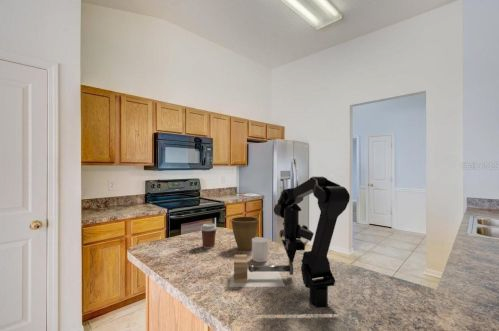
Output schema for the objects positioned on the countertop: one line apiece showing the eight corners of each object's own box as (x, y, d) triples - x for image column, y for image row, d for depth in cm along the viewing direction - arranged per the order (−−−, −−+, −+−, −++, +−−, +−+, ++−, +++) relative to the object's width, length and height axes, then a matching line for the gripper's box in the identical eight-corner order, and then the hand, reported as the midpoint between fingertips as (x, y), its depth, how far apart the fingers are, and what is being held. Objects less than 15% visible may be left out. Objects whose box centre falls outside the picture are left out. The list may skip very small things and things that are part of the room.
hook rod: (294, 277, 90) (294, 254, 90) (248, 277, 89) (248, 254, 89) (291, 271, 94) (291, 250, 95) (248, 272, 94) (248, 250, 94)
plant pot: (259, 244, 135) (259, 216, 135) (256, 253, 120) (256, 222, 120) (234, 243, 137) (234, 215, 137) (228, 252, 122) (228, 221, 123)
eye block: (247, 282, 88) (247, 262, 88) (233, 282, 87) (234, 262, 88) (246, 273, 96) (247, 254, 96) (234, 273, 95) (234, 254, 96)
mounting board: (284, 288, 85) (284, 286, 85) (229, 289, 84) (229, 286, 84) (278, 271, 99) (278, 269, 99) (231, 272, 98) (231, 270, 98)
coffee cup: (198, 245, 133) (198, 223, 133) (213, 243, 137) (213, 222, 137) (203, 250, 125) (203, 227, 125) (219, 247, 129) (219, 225, 129)
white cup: (248, 262, 109) (248, 240, 109) (256, 256, 116) (256, 236, 116) (264, 265, 105) (264, 243, 106) (270, 259, 112) (271, 238, 113)
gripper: (319, 226, 84) (319, 271, 83) (304, 216, 102) (304, 252, 102) (288, 226, 83) (287, 271, 83) (279, 216, 102) (279, 252, 101)
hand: (290, 261), depth 92 cm, fingers closed on hook rod, 2 cm apart
